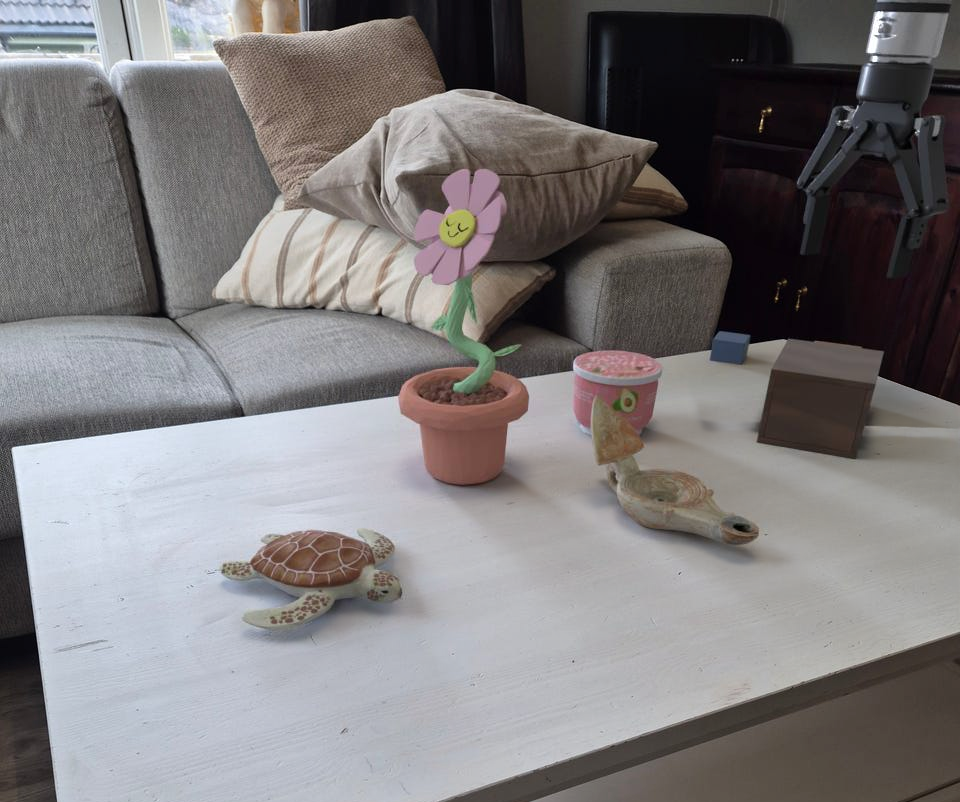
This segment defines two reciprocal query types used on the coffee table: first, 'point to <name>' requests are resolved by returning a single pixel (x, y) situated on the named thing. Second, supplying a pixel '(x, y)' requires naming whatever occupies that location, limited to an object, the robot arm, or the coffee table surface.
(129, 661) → the coffee table surface
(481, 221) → the decorative flower
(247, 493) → the coffee table surface
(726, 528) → the oil lamp
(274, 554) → the decorative turtle
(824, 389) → the cabinet
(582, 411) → the container
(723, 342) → the block
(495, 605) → the coffee table surface
